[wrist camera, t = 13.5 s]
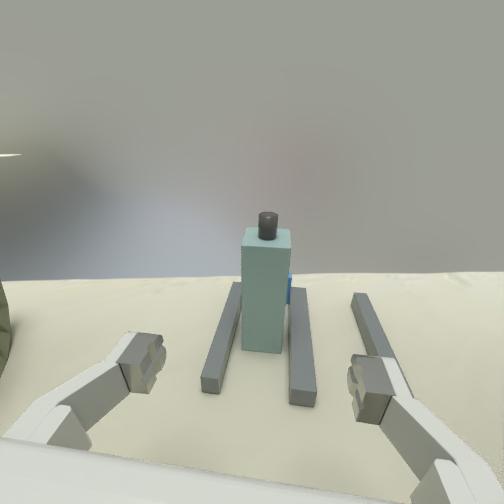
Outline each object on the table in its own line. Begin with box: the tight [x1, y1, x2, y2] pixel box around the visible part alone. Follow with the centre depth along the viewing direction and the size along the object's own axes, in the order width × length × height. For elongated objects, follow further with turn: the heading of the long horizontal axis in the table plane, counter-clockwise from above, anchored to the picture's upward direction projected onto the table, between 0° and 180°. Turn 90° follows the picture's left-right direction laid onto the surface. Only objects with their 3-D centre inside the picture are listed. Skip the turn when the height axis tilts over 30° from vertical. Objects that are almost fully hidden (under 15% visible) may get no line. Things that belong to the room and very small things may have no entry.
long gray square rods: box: [201, 274, 415, 407], centre depth 26 cm, size 17×14×4 cm
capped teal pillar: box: [241, 212, 291, 354], centre depth 24 cm, size 4×4×14 cm
